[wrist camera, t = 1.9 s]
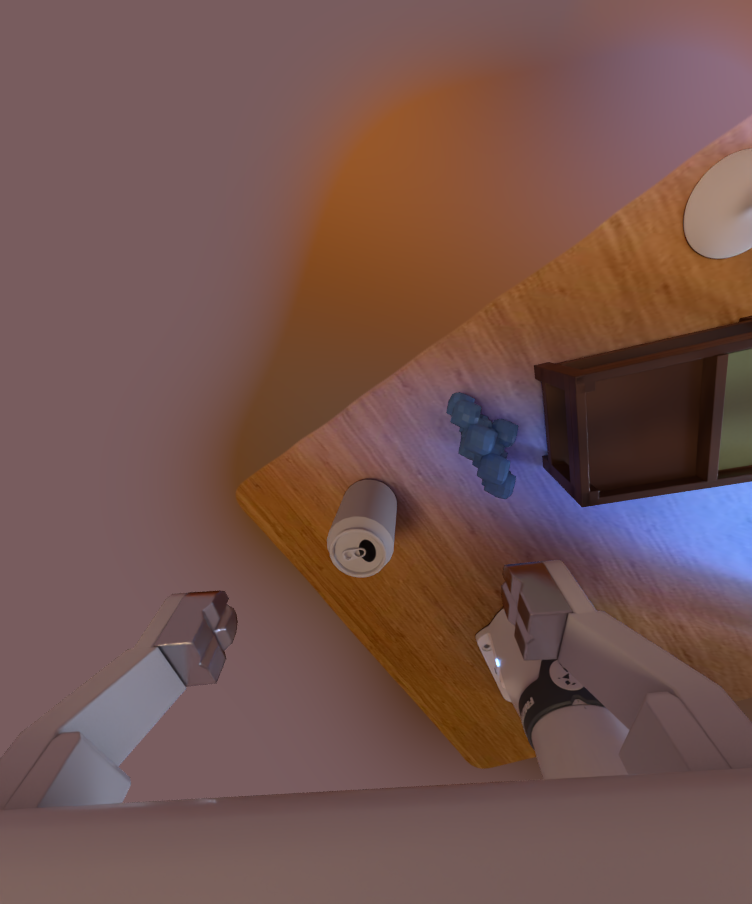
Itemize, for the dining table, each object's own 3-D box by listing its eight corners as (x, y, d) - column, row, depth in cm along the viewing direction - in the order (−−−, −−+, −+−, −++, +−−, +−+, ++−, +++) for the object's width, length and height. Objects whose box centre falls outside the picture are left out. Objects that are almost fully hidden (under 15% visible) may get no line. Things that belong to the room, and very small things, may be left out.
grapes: (521, 453, 41) (562, 498, 30) (471, 475, 43) (492, 525, 32) (484, 370, 38) (514, 386, 27) (432, 397, 40) (440, 422, 29)
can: (401, 521, 47) (397, 581, 35) (350, 526, 48) (331, 585, 37) (393, 473, 44) (386, 521, 33) (339, 479, 45) (315, 528, 34)
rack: (743, 432, 38) (857, 466, 28) (543, 467, 42) (583, 508, 32) (757, 314, 34) (896, 307, 24) (533, 365, 38) (576, 377, 28)
